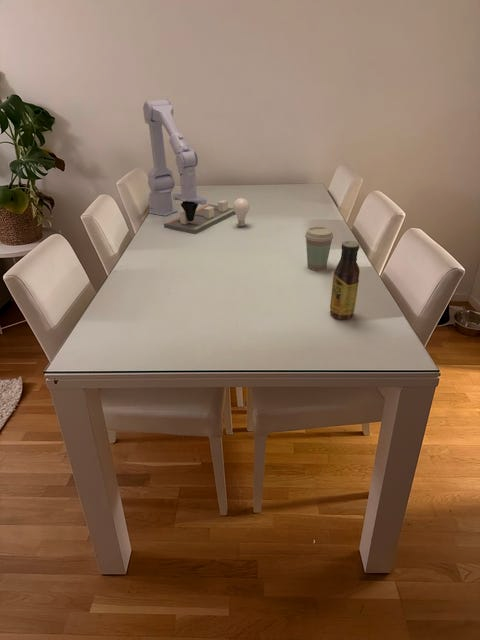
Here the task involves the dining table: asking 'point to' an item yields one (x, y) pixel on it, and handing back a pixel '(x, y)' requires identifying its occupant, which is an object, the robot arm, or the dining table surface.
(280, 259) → the dining table surface
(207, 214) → the breaker middle
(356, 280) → the sauce bottle
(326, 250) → the coffee cup
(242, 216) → the lightbulb
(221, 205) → the breaker left
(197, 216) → the breaker panel
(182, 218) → the block
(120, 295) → the dining table surface
